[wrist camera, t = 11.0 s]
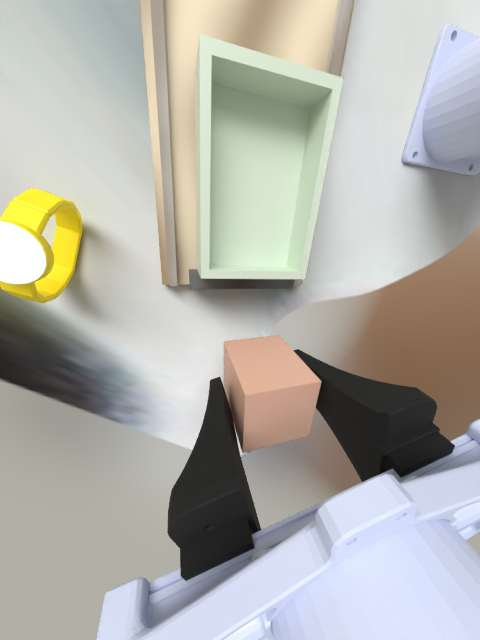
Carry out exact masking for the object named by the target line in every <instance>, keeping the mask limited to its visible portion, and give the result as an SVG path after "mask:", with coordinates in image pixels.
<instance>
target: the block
mask: <svg viewBox="0 0 480 640" xmlns="http://www.w3.org/2000/svg"><path fill="white" fill-rule="evenodd" d="M321 382H322V381H321V380H320V379H319V378H318V377H317V376H316V375H315V374H314V373H313V372H312V371H311V369H310V368H309V367H308V366H307V365H306V364H305V363H304V362H303V361H302V360H301V359H300V357H299V356H298V355H297V354H296V353H295V352H294V351H293V350H292V349H291V348H290V347H289V345H288V344H287V343H286V342H285V341H284V340H283V339H282V338H281V337H280V336H279V335H277V336H268V337H259V338H250V339H241V340H233V341H224V390H225V393H226V396H227V399H228V402H229V405H230V409H231V412H232V417H233V422H234V425H235V428H236V432H237V435H238V439H239V442H240V446H241V449H242V453H244V452H248V451H252V450H256V449H260V448H264V447H268V446H272V445H276V444H280V443H284V442H288V441H292V440H295V439H300V438H304V437H308V436H309V433H310V429H311V425H312V420H313V416H314V412H315V408H316V403H317V399H318V395H319V390H320V386H321Z"/></svg>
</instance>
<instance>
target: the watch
mask: <svg viewBox="0 0 480 640" xmlns="http://www.w3.org/2000/svg"><path fill="white" fill-rule="evenodd" d="M53 214H54V215H55V219H56V224H57V227H56V232H55V238H54V243H53V249H51V247H50V245H49V243H48V242H47V241H46V240H45V238H44V237H43V236H42V235H41V234H42V232H43V230H44V228H45V226H46V224H47V222H48V220H49V218H50V217H51V216H52V215H53ZM82 232H83V229H82V220H81V215H80V213H79V212H78V210H77V208H76V206H75V205H74V203H73V202H71V201H69V200H66V199H64V198H61V197H59V196H56V195H54V194H52V193H49V192H47V191H43V190H38V189H34V188H32V189H29V190H27V191H25V192H24V193H22V194H20V195H19V196H17V197H15V198H14V199H13V201H10V203H9V205H8V206H7V208H6V210H5V211H4V213H3V215H2V217H1V218H0V287H1V288H2V289H3V290H4V291H6V292H8V293H10V294H11V295H13V296H15V297H19V298H23V299H27V300H32V301H36V302H40V303H45V302H48V301H51V300H53V299H56V298H57V297H58V296H59V295H60V294H61V292H62V291H63V290H64V289H65V288H66V286H67V285H68V283H69V281H70V279H71V277H72V275H73V273H74V272H75V271H74V270H76V268H75V265H76V260H77V255H78V251H79V246H80V241H81V236H82ZM36 281H37V282H36ZM35 282H36V283H35Z"/></svg>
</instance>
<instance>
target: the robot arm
mask: <svg viewBox="0 0 480 640" xmlns="http://www.w3.org/2000/svg"><path fill="white" fill-rule="evenodd" d="M413 154H414V156H413ZM402 160H403V162H405V163H409V164H414V165H419V166H425V167H430V168H435V169H440V170H445V171H450V172H455V173H460V174H465V175H470V176H473V175H477V174H479V173H480V37H479V36H477V35H474V34H472V33H470V32H468V31H466V30H464V29H461V28H459V27H457V26H455V25H453V24H448V25H447V26H446V27H444V28H443V29H442V30H441V31H440V34H439V36H438V39H437V43H436V46H435V49H434V53H433V56H432V59H431V62H430V66H429V69H428V72H427V76H426V79H425V82H424V85H423V89H422V92H421V95H420V99H419V102H418V105H417V108H416V112H415V115H414V118H413V122H412V125H411V128H410V131H409V135H408V138H407V141H406V145H405V148H404V151H403V154H402ZM294 352H295V353H296V354H297V355H298V356H299V357H300V359H301V360H302V361H303V362H304V363H305V364H306V365H307V366H308V367H309V368H310V369H311V371H312V372H313V373H314V374H315V375H316V376H317V377H318V378H319V379H320V380H321V381H322V382H321V386H320V390H319V395H318V399H317V403H316V408H317V410H318V411H319V412H320V413H321V415H322V416H323V417H324V419H325V420H326V422H327V423H328V425H329V426H330V428H331V430H332V431H333V433H334V434H335V436H336V438H337V439H338V441H339V442H340V444H341V446H342V447H343V449H344V451H345V452H346V454H347V456H348V457H349V459H350V461H351V463H352V464H353V466H354V468H355V469H356V471H357V473H358V475H359V477H360V478H361V480H362V483H360V484H357V485H355V486H353V487H351V488H349V489H347V490H345V491H343V492H340V493H338V494H336V495H334V496H332V497H330V498H328V499H326V500H324V501H322V502H320V503H318V504H316V505H314V506H311V507H309V508H307V509H305V510H303V511H301V512H298V513H297V514H295V515H292V516H290V517H288V518H286V519H284V520H281V521H279V522H277V523H275V524H273V525H271V526H269V527H267V528H265V529H262V530H261V528H260V524H259V521H258V517H257V514H256V510H255V507H254V503H253V500H252V496H251V493H250V489H249V486H248V482H247V478H246V475H245V471H244V468H243V465H242V461H241V457H240V453H239V449H238V443H237V438H236V433H235V427H234V422H233V417H232V412H231V409H230V405H229V402H228V399H227V396H226V393H225V390H224V387H223V384H222V381H221V378H220V377H218V378H215V379H212V380H211V381H210V390H209V398H208V403H207V408H206V412H205V416H204V420H203V424H202V427H201V430H200V433H199V436H198V438H197V441H196V444H195V446H194V448H193V451H192V453H191V455H190V457H189V459H188V461H187V463H186V465H185V467H184V469H183V471H182V473H181V475H180V477H179V478H178V480H177V482H176V484H175V485H174V487H173V489H172V491H171V496H170V502H169V510H168V534H169V537H170V538H171V539H172V540H173V541H174V542H175V543H176V545H177V546H178V547H179V548H180V556H181V557H180V562H181V564H180V565H181V568H179V569H177V570H175V571H173V572H171V573H169V574H167V575H164V576H162V577H160V578H158V579H156V580H154V581H152V582H148V580H147V579H146V578H144V577H139V578H135V579H132V580H130V581H128V582H126V583H124V584H121V585H119V586H117V587H115V588H113V589H111V590H109V591H107V593H106V594H105V599H104V604H103V609H102V614H101V619H100V624H99V630H98V634H97V640H480V556H479V555H478V553H477V552H476V551H475V550H474V549H473V548H472V547H471V546H470V545H469V544H468V543H467V541H466V540H467V539H469V538H470V537H472V536H473V535H475V534H476V533H478V532H479V531H480V419H478V420H476V421H474V422H472V423H471V424H470V425H469V427H468V428H467V431H466V434H465V435H463V436H460V437H458V438H456V439H454V440H452V441H449V440H448V439H446V438H445V437H444V436H443V435H441V434H440V433H439V430H440V429H439V428H438V427H437V426H436V425H434V424H433V419H434V416H435V413H436V409H437V405H436V402H435V401H434V400H433V399H432V398H431V397H429V396H428V395H426V394H425V393H423V392H422V391H420V390H419V389H417V388H414V387H407V386H400V385H394V384H388V383H383V382H379V381H375V380H371V379H367V378H363V377H360V376H357V375H354V374H351V373H348V372H345V371H342V370H340V369H337V368H335V367H333V366H330V365H328V364H326V363H324V362H322V361H320V360H317V359H315V358H313V357H312V356H310V355H308V354H306V353H304V352H302V351H300V350H294Z"/></svg>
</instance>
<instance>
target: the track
mask: <svg viewBox="0 0 480 640" xmlns="http://www.w3.org/2000/svg"><path fill="white" fill-rule="evenodd" d="M140 5H141V18H142V30H143V43H144V56H145V69H146V81H147V94H148V107H149V119H150V132H151V145H152V157H153V170H154V183H155V195H156V208H157V221H158V233H159V246H160V259H161V272H162V284H169V286H177V284H190V288H191V289H276V288H293V286H300V284H302V279H201V278H200V275H199V273H198V271H197V228H196V149H195V68H196V59H197V51H198V42H199V34H202V35H205V36H208V37H212V38H215V39H218V40H221V41H225V42H228V43H231V44H235V45H238V46H241V47H244V48H248V49H251V50H254V51H257V52H261V53H264V54H267V55H270V56H274V57H277V58H280V59H283V60H287V61H290V62H293V63H297V64H300V65H303V66H306V67H310V68H313V69H316V70H319V71H323V72H326V73H329V74H332V75H336V76H339V77H340V75H341V70H342V64H343V59H344V54H345V48H346V43H347V38H348V32H349V27H350V22H351V16H352V11H353V5H354V0H140Z"/></svg>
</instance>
